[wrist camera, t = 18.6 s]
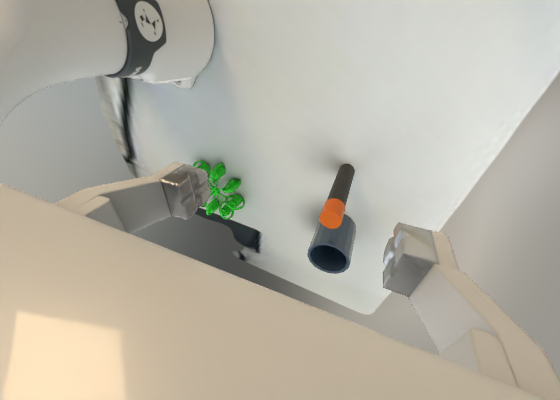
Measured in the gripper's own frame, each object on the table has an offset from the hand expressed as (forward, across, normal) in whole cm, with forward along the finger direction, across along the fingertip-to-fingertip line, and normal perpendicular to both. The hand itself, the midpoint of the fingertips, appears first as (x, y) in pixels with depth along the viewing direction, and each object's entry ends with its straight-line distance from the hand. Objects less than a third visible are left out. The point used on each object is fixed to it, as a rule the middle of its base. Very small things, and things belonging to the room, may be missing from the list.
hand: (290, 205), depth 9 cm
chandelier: (+30, +26, +24) cm, 46 cm away
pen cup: (+29, -2, +26) cm, 39 cm away
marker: (+29, -1, +13) cm, 32 cm away
